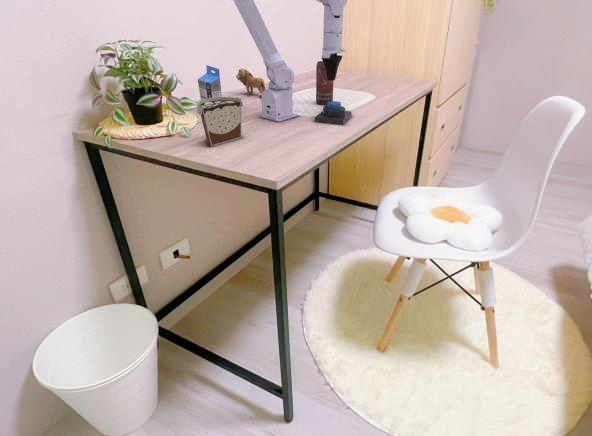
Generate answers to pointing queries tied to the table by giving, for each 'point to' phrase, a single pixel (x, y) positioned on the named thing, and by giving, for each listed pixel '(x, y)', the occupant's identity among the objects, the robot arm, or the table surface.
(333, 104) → the blue button cap
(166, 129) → the table surface
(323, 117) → the button base
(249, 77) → the lion figurine
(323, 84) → the can
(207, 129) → the food container
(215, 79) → the tape cartridge
